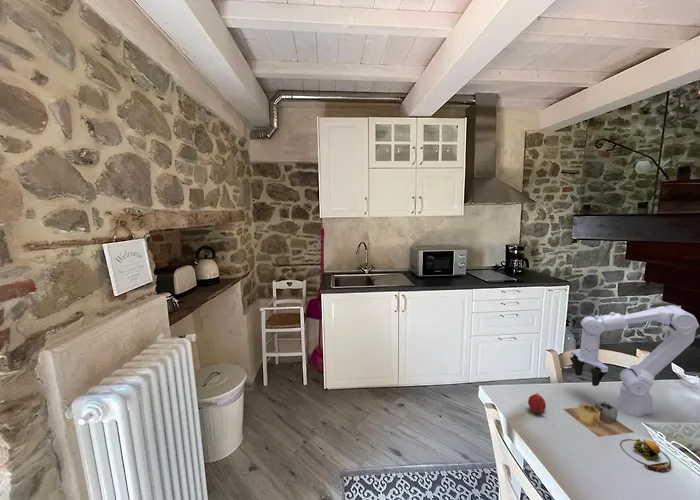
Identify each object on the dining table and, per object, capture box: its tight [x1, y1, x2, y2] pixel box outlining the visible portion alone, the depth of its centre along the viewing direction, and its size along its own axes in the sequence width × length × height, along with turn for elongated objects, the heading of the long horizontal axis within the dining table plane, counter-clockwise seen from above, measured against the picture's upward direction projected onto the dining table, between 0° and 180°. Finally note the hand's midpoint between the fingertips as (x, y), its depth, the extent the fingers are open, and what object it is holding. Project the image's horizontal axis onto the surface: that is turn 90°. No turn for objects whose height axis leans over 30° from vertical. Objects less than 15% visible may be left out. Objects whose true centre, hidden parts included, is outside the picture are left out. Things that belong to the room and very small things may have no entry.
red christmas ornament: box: [527, 391, 547, 414], centre depth 121 cm, size 6×6×8 cm
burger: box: [620, 438, 672, 473], centre depth 99 cm, size 12×12×8 cm
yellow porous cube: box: [577, 403, 600, 426], centre depth 114 cm, size 5×5×5 cm
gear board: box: [562, 405, 634, 438], centre depth 115 cm, size 14×15×4 cm
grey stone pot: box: [594, 401, 618, 424], centre depth 115 cm, size 5×5×5 cm
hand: (586, 380), depth 125 cm, fingers open, 7 cm apart
